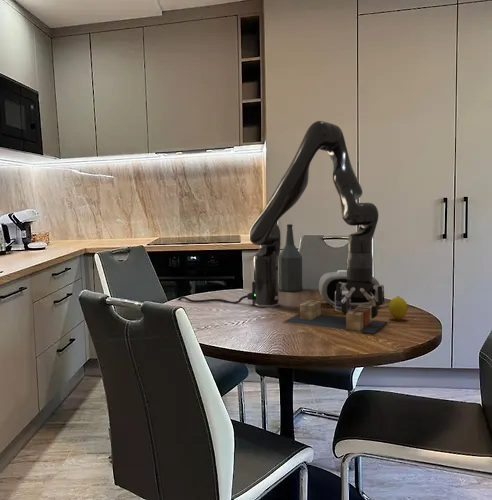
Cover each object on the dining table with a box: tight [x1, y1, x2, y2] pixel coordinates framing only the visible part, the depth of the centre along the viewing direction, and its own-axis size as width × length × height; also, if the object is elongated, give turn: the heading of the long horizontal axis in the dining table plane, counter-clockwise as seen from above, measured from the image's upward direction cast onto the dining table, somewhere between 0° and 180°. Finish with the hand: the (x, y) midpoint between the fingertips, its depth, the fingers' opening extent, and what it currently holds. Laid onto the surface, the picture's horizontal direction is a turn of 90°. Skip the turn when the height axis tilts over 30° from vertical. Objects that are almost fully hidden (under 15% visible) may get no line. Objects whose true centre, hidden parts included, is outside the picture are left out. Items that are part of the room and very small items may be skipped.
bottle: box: [278, 223, 303, 293], centre depth 219 cm, size 10×10×30 cm
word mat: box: [284, 313, 388, 335], centre depth 161 cm, size 28×16×1 cm, turn 50°
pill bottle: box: [334, 287, 352, 313], centre depth 176 cm, size 5×5×10 cm
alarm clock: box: [318, 269, 381, 309], centre depth 184 cm, size 21×10×13 cm, turn 76°
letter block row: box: [345, 305, 374, 332], centre depth 156 cm, size 4×15×5 cm, turn 140°
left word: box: [299, 299, 322, 320], centre depth 169 cm, size 4×9×5 cm, turn 140°
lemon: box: [388, 296, 409, 321], centre depth 161 cm, size 6×6×8 cm
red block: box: [351, 308, 369, 327], centre depth 156 cm, size 4×4×5 cm
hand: (359, 315), depth 156 cm, fingers open, 8 cm apart
